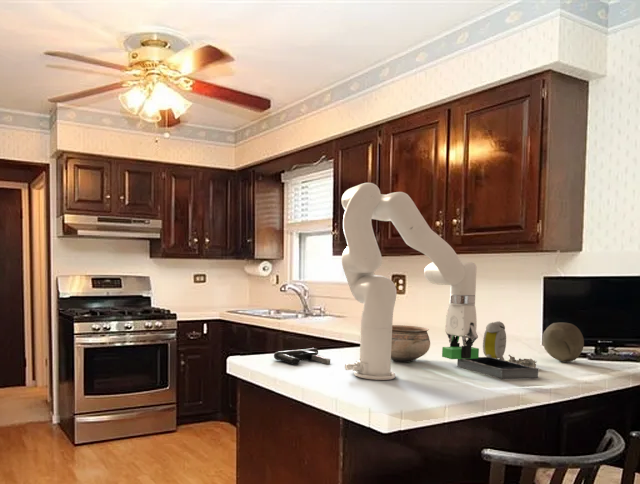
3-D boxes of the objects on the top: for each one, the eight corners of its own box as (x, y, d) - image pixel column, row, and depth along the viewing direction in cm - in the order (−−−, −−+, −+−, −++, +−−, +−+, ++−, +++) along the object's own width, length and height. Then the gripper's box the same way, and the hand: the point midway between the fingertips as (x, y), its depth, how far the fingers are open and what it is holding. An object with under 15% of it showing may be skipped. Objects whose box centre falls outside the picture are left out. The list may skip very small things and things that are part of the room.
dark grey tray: (501, 380, 167) (502, 369, 167) (457, 367, 188) (457, 357, 188) (537, 379, 170) (538, 368, 170) (490, 366, 191) (490, 356, 191)
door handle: (342, 355, 192) (311, 346, 205) (300, 360, 180) (270, 350, 193) (341, 364, 192) (310, 355, 205) (299, 370, 181) (269, 359, 194)
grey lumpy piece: (506, 365, 195) (507, 354, 195) (529, 366, 193) (530, 355, 193) (513, 370, 185) (514, 358, 184) (537, 372, 183) (538, 360, 182)
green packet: (451, 359, 170) (452, 349, 170) (441, 356, 175) (442, 346, 175) (478, 358, 173) (479, 348, 173) (468, 355, 178) (468, 346, 177)
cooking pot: (400, 354, 215) (401, 323, 214) (443, 361, 200) (445, 328, 199) (360, 359, 199) (361, 326, 198) (405, 368, 184) (406, 332, 183)
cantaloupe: (589, 362, 205) (592, 323, 204) (572, 365, 197) (575, 325, 196) (551, 357, 216) (553, 320, 215) (533, 359, 208) (535, 321, 207)
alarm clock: (491, 358, 208) (493, 320, 207) (510, 361, 204) (512, 321, 203) (481, 362, 199) (483, 322, 198) (500, 365, 195) (503, 323, 194)
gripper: (436, 298, 180) (434, 352, 181) (469, 302, 164) (467, 361, 165) (455, 298, 182) (453, 352, 183) (490, 302, 165) (488, 360, 167)
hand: (460, 356), depth 174 cm, fingers closed on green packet, 5 cm apart
